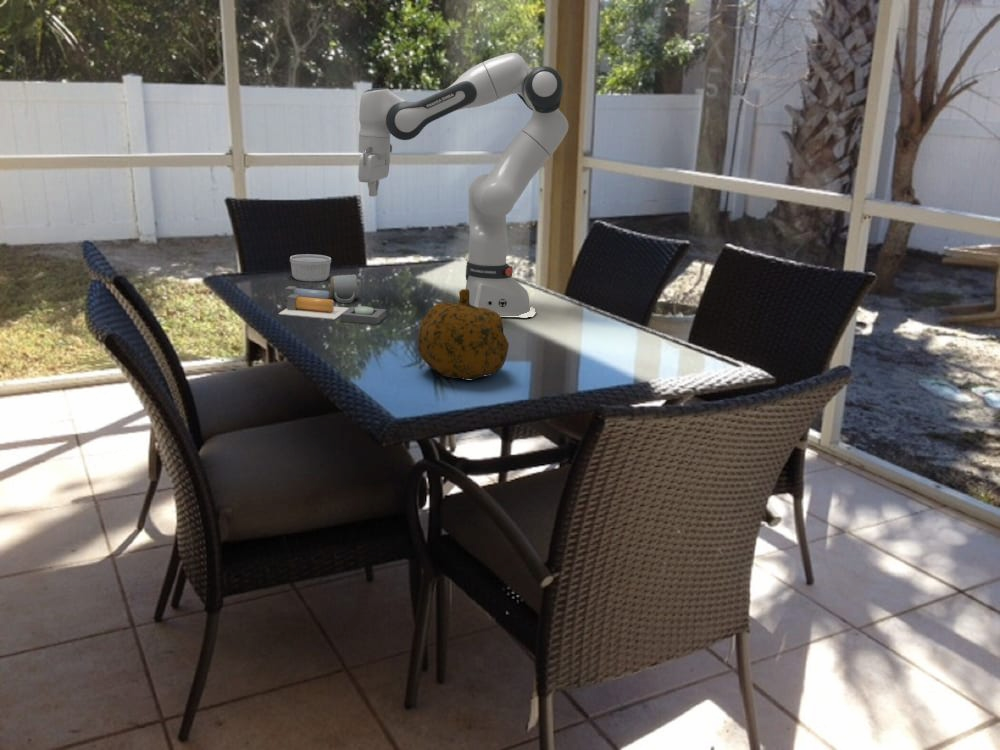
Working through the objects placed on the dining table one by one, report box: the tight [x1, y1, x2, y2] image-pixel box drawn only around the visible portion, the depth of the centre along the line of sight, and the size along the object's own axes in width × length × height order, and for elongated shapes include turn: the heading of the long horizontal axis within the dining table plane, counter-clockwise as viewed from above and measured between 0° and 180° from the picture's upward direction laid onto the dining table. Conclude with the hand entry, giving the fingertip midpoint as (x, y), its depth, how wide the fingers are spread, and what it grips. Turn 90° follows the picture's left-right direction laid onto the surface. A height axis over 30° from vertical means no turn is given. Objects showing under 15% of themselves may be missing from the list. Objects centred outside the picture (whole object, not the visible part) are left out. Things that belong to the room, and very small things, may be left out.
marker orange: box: [286, 294, 335, 312], centre depth 265 cm, size 12×4×4 cm, turn 82°
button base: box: [340, 306, 387, 325], centre depth 260 cm, size 10×10×2 cm
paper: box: [278, 305, 350, 321], centre depth 265 cm, size 16×14×1 cm
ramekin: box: [289, 253, 332, 282], centre depth 308 cm, size 13×13×7 cm
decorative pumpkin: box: [417, 288, 510, 380], centre depth 214 cm, size 20×21×20 cm
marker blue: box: [284, 285, 331, 302], centre depth 277 cm, size 12×4×4 cm, turn 82°
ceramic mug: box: [329, 274, 358, 304], centre depth 280 cm, size 10×8×7 cm
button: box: [355, 305, 374, 315], centre depth 260 cm, size 5×5×2 cm
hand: (373, 196), depth 273 cm, fingers closed
